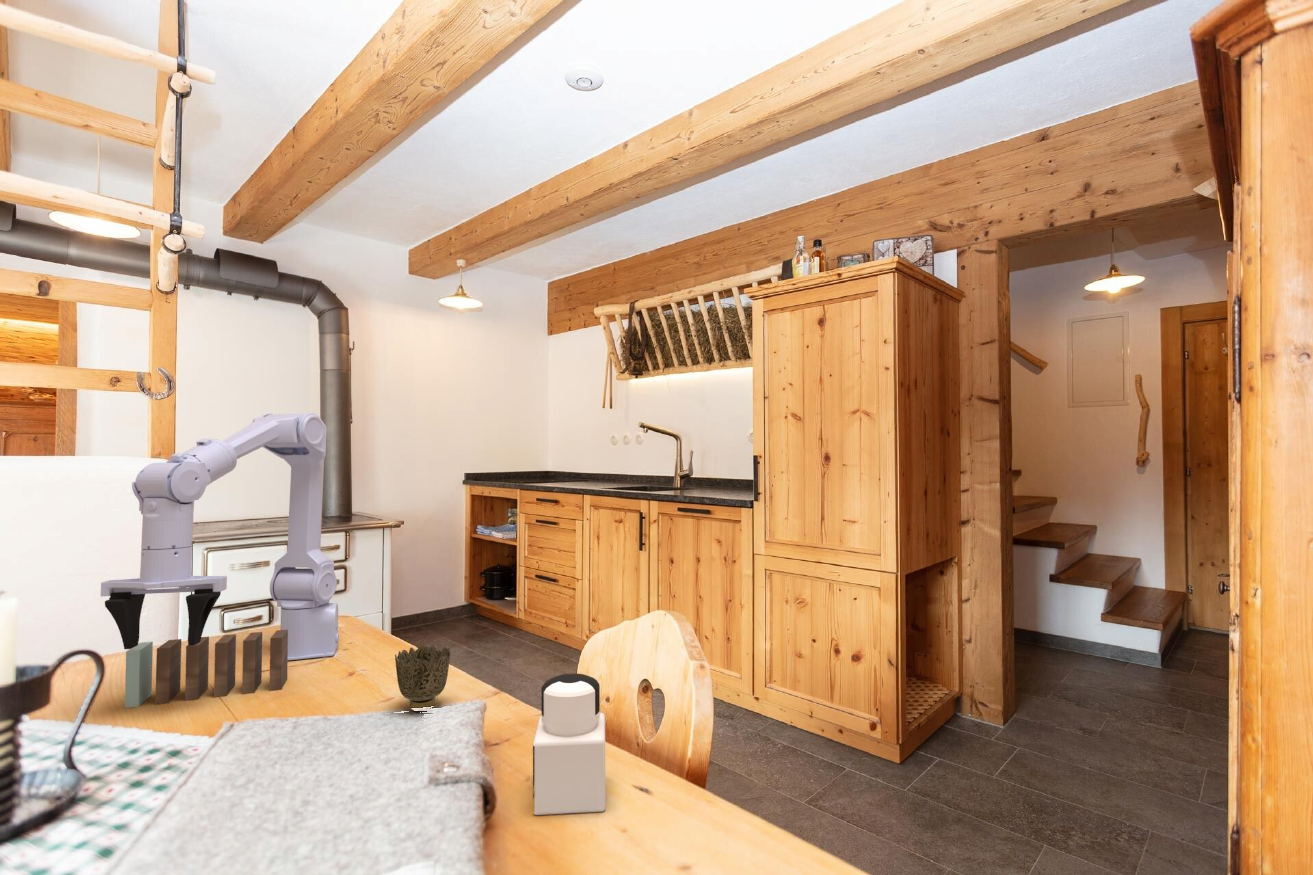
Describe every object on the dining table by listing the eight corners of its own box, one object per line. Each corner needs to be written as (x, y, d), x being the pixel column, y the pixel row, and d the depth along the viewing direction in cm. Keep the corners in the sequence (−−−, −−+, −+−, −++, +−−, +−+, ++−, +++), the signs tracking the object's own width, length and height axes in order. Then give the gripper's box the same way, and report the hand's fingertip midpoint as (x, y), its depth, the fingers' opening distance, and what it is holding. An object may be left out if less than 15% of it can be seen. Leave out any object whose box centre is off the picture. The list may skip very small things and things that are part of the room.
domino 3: (208, 688, 99) (208, 636, 99) (198, 699, 94) (199, 644, 95) (195, 689, 99) (196, 637, 99) (185, 701, 94) (186, 646, 94)
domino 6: (287, 679, 103) (287, 629, 103) (281, 689, 98) (282, 637, 99) (275, 680, 102) (276, 630, 103) (269, 691, 98) (270, 638, 98)
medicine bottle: (539, 780, 70) (539, 669, 70) (605, 777, 70) (604, 666, 71) (532, 816, 62) (532, 692, 63) (605, 812, 63) (604, 689, 64)
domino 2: (180, 691, 98) (181, 638, 98) (168, 702, 93) (169, 647, 93) (167, 692, 97) (168, 639, 98) (155, 704, 93) (156, 648, 93)
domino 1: (151, 694, 97) (152, 641, 97) (138, 706, 92) (139, 650, 92) (138, 696, 96) (139, 642, 96) (124, 708, 91) (126, 651, 92)
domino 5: (261, 682, 102) (262, 631, 102) (254, 692, 97) (255, 639, 97) (249, 683, 101) (250, 632, 101) (242, 694, 96) (243, 640, 97)
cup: (382, 714, 88) (382, 656, 88) (419, 696, 95) (419, 642, 95) (426, 722, 85) (426, 661, 86) (461, 702, 92) (461, 646, 93)
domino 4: (235, 685, 100) (236, 634, 101) (226, 696, 96) (227, 642, 96) (223, 686, 100) (224, 635, 100) (214, 697, 95) (215, 643, 95)
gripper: (88, 552, 84) (83, 657, 83) (213, 548, 88) (209, 649, 87) (119, 546, 91) (114, 643, 90) (234, 543, 95) (230, 636, 94)
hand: (163, 645), depth 89 cm, fingers open, 7 cm apart
